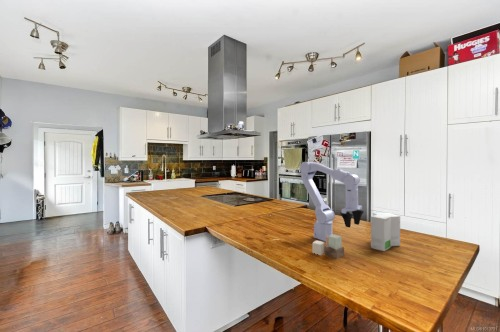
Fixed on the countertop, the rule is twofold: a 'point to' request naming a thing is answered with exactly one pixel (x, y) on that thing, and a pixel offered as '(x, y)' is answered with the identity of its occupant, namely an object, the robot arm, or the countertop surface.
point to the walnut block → (334, 252)
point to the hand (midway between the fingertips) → (352, 225)
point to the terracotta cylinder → (327, 240)
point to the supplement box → (393, 228)
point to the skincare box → (381, 232)
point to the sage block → (335, 241)
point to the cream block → (318, 247)
